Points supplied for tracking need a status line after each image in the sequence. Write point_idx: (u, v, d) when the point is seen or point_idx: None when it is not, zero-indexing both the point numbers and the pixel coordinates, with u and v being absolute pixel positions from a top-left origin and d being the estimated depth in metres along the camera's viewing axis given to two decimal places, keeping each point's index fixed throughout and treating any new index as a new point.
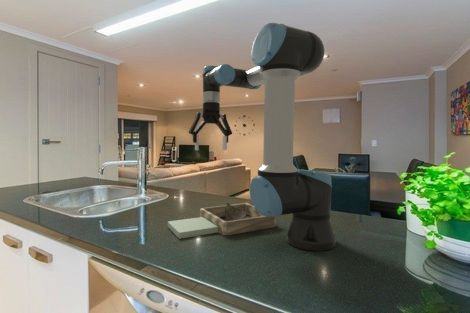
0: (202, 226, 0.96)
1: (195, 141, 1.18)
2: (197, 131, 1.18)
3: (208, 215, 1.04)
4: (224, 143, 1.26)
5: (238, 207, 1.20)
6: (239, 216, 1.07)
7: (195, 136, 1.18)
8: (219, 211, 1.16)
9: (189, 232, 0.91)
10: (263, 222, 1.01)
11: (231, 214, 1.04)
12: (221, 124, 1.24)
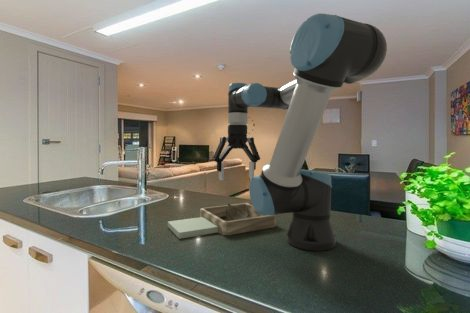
0: (202, 226, 0.96)
1: (220, 170, 1.03)
2: (222, 158, 1.03)
3: (208, 215, 1.04)
4: (251, 170, 1.10)
5: (238, 207, 1.20)
6: (240, 217, 1.05)
7: (220, 164, 1.03)
8: (219, 211, 1.16)
9: (189, 232, 0.91)
10: (263, 222, 1.01)
11: (232, 215, 1.03)
12: (248, 149, 1.08)
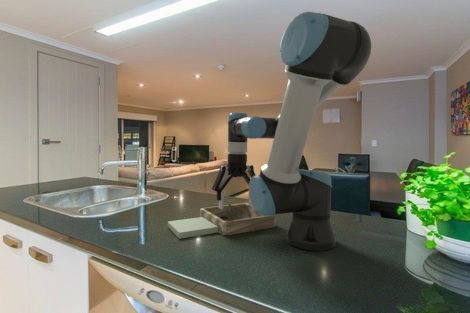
0: (202, 226, 0.96)
1: (219, 199, 1.04)
2: (222, 188, 1.03)
3: (208, 215, 1.04)
4: None
5: (238, 207, 1.20)
6: (241, 217, 1.05)
7: (219, 193, 1.03)
8: (219, 211, 1.16)
9: (189, 232, 0.91)
10: (263, 222, 1.01)
11: (233, 215, 1.03)
12: (248, 177, 1.09)
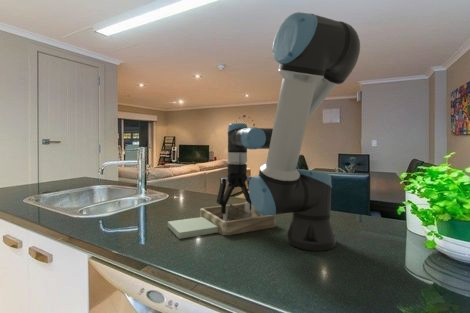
0: (202, 226, 0.96)
1: (224, 212, 1.05)
2: (226, 201, 1.04)
3: (208, 215, 1.04)
4: (247, 211, 1.10)
5: (238, 207, 1.20)
6: (243, 218, 1.04)
7: (224, 206, 1.04)
8: (219, 211, 1.16)
9: (189, 232, 0.91)
10: (263, 222, 1.01)
11: (234, 215, 1.02)
12: (246, 189, 1.08)
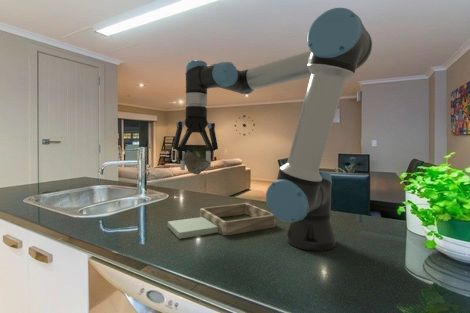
0: (202, 226, 0.96)
1: (180, 159, 0.96)
2: (182, 146, 0.95)
3: (208, 215, 1.04)
4: (207, 160, 1.01)
5: (238, 207, 1.20)
6: (200, 165, 0.95)
7: (180, 152, 0.95)
8: (219, 211, 1.16)
9: (189, 232, 0.91)
10: (263, 222, 1.01)
11: (190, 161, 0.93)
12: (206, 135, 0.99)
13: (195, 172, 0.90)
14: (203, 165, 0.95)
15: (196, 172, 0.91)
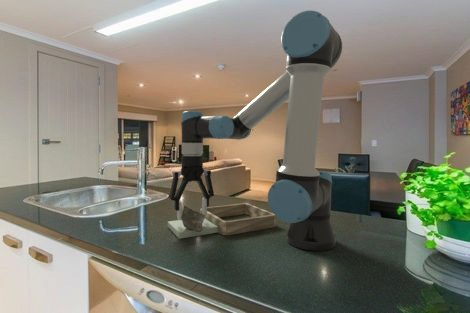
0: (202, 226, 0.96)
1: (177, 209, 0.95)
2: (179, 196, 0.95)
3: (208, 215, 1.04)
4: (204, 208, 1.01)
5: (238, 207, 1.20)
6: (198, 219, 0.94)
7: (177, 203, 0.95)
8: (219, 211, 1.16)
9: (189, 232, 0.91)
10: (263, 222, 1.01)
11: (190, 218, 0.91)
12: (202, 183, 0.99)
13: (198, 230, 0.89)
14: (200, 219, 0.95)
15: (199, 229, 0.90)
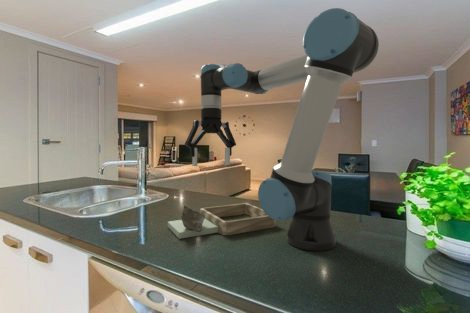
0: (202, 226, 0.96)
1: (193, 155, 0.98)
2: (195, 143, 0.98)
3: (208, 215, 1.04)
4: (227, 156, 1.06)
5: (238, 207, 1.20)
6: (198, 219, 0.94)
7: (193, 149, 0.98)
8: (219, 211, 1.16)
9: (189, 232, 0.91)
10: (263, 222, 1.01)
11: (190, 218, 0.91)
12: (223, 134, 1.04)
13: (198, 230, 0.89)
14: (200, 219, 0.95)
15: (199, 229, 0.90)
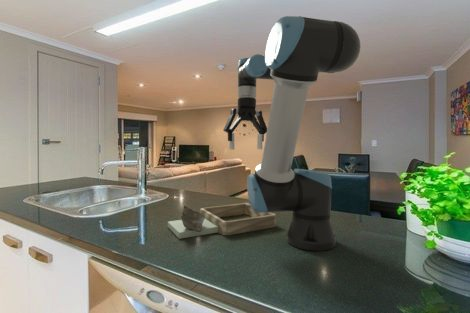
0: (202, 226, 0.96)
1: (230, 139, 1.10)
2: (233, 129, 1.10)
3: (208, 215, 1.04)
4: (259, 142, 1.17)
5: (238, 207, 1.20)
6: (198, 219, 0.94)
7: (230, 134, 1.10)
8: (219, 211, 1.16)
9: (189, 232, 0.91)
10: (263, 222, 1.01)
11: (190, 218, 0.91)
12: (257, 121, 1.15)
13: (198, 230, 0.89)
14: (200, 219, 0.95)
15: (199, 229, 0.90)
